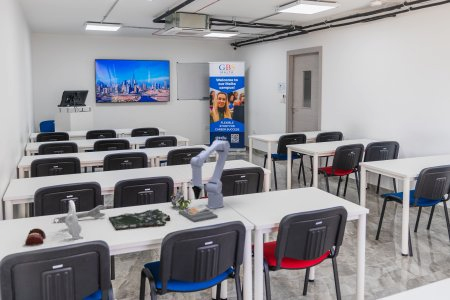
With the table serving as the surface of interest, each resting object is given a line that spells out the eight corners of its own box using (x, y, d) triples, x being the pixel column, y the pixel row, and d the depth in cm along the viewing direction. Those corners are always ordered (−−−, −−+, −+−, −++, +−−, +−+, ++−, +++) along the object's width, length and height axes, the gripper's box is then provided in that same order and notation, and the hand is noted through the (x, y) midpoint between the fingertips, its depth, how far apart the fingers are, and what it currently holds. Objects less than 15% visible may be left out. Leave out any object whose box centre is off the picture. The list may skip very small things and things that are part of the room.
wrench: (55, 227, 238) (107, 216, 247) (54, 228, 237) (107, 217, 246) (52, 214, 237) (105, 203, 246) (52, 215, 235) (105, 204, 244)
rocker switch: (201, 206, 256) (201, 204, 256) (207, 209, 250) (206, 207, 250) (188, 213, 251) (187, 210, 251) (193, 216, 246) (192, 213, 245)
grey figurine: (65, 229, 227) (63, 197, 224) (78, 227, 230) (77, 196, 227) (68, 241, 209) (66, 207, 206) (83, 238, 212) (81, 205, 209)
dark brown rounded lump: (23, 234, 201) (28, 226, 212) (24, 247, 201) (28, 238, 213) (42, 233, 203) (46, 226, 214) (42, 246, 204) (46, 237, 215)
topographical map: (108, 219, 245) (108, 214, 244) (162, 212, 259) (162, 208, 258) (117, 233, 222) (117, 228, 221) (175, 225, 235) (175, 220, 235)
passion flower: (173, 216, 268) (167, 198, 273) (191, 211, 273) (184, 193, 277) (176, 210, 257) (169, 191, 262) (194, 205, 262) (187, 186, 266)
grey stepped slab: (201, 209, 264) (200, 204, 263) (217, 217, 247) (217, 212, 247) (178, 213, 255) (178, 208, 255) (194, 222, 239) (194, 216, 238)
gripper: (185, 175, 258) (185, 196, 260) (197, 179, 246) (197, 201, 248) (195, 173, 262) (195, 194, 264) (207, 178, 250) (207, 199, 252)
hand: (197, 197), depth 256 cm, fingers closed
